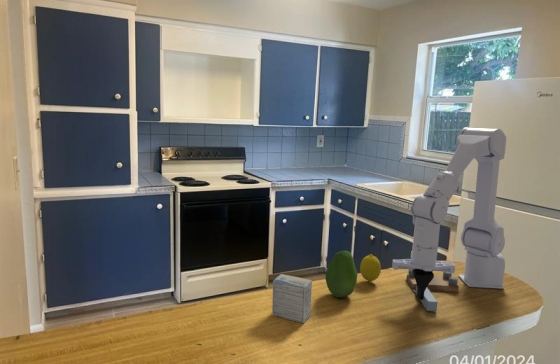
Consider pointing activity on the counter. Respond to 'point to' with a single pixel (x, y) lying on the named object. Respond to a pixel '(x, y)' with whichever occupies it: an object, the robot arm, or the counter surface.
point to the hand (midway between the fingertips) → (420, 298)
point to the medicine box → (292, 298)
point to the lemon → (370, 268)
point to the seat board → (437, 282)
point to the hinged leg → (429, 301)
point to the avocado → (341, 274)
